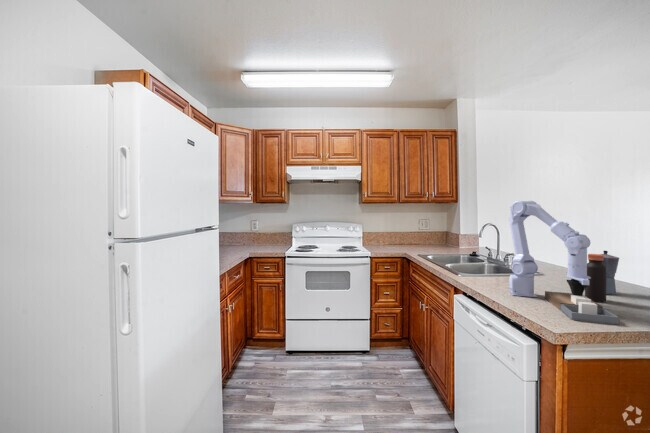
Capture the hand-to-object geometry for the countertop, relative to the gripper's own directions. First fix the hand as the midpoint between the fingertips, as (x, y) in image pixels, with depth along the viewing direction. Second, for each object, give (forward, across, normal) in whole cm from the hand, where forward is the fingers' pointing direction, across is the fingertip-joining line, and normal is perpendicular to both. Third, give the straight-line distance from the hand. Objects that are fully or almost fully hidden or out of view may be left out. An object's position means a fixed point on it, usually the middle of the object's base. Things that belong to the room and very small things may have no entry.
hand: (576, 298), depth 113 cm
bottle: (+4, +15, -12) cm, 20 cm away
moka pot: (+4, +30, -21) cm, 37 cm away
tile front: (+1, -8, 0) cm, 8 cm away
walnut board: (+4, +4, 0) cm, 5 cm away
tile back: (+1, -3, 0) cm, 3 cm away
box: (+4, -10, 0) cm, 11 cm away
